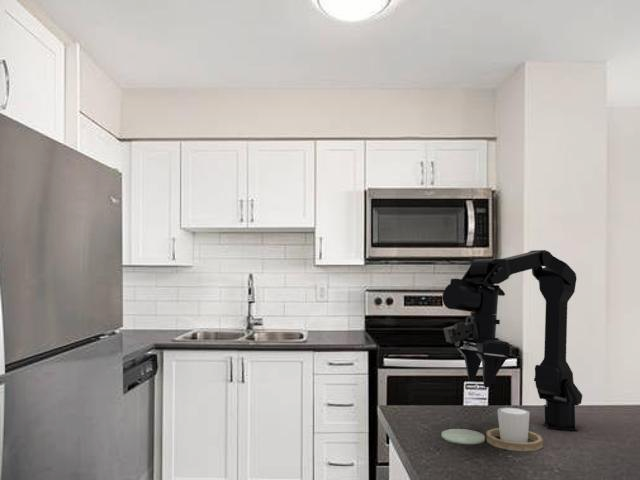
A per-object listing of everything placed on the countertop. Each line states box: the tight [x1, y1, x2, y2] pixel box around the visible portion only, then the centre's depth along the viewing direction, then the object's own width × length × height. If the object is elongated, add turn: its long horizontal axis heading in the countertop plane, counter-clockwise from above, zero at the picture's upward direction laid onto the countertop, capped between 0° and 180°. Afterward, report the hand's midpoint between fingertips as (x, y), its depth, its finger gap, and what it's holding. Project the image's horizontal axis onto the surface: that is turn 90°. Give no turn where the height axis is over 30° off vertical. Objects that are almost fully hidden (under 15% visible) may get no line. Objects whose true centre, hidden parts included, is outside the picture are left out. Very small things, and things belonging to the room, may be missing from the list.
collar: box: [486, 427, 544, 452], centre depth 116 cm, size 12×12×2 cm
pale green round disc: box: [441, 428, 486, 445], centre depth 120 cm, size 10×10×1 cm
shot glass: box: [497, 407, 531, 443], centre depth 117 cm, size 7×7×7 cm
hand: (478, 383), depth 116 cm, fingers open, 9 cm apart
